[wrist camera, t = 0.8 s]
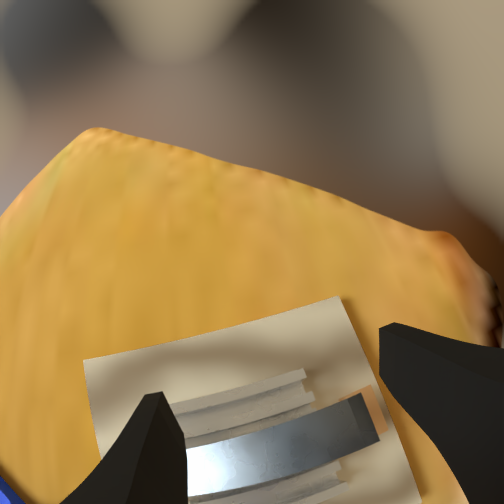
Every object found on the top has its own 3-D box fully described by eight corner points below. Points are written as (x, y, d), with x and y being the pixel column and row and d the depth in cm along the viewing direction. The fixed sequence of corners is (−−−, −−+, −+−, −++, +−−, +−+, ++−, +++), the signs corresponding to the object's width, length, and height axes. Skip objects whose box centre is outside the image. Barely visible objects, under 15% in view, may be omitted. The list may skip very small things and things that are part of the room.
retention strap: (379, 443, 14) (382, 446, 13) (153, 501, 15) (140, 505, 14) (357, 388, 16) (359, 387, 15) (138, 453, 17) (125, 454, 16)
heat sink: (337, 489, 18) (351, 494, 15) (203, 529, 16) (199, 540, 13) (293, 372, 23) (301, 363, 20) (164, 407, 21) (154, 402, 18)
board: (415, 500, 17) (422, 502, 16) (153, 582, 13) (149, 587, 12) (334, 301, 28) (338, 295, 27) (88, 363, 23) (83, 360, 22)
